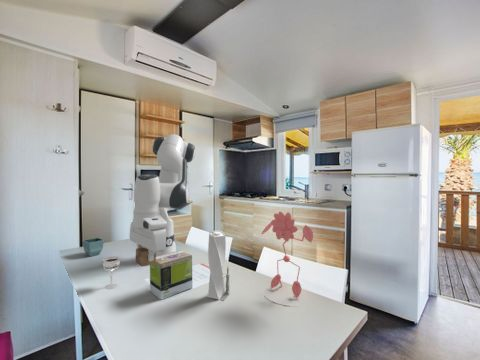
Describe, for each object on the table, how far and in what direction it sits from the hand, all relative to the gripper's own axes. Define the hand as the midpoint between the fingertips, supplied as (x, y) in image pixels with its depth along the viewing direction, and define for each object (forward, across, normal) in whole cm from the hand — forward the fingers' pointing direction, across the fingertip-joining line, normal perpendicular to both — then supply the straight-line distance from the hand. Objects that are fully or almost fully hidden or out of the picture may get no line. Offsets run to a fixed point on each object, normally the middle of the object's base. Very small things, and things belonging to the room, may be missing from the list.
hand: (145, 258), depth 87 cm
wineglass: (+20, -29, -1) cm, 35 cm away
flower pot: (+21, -80, +7) cm, 83 cm away
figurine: (+19, +29, +45) cm, 57 cm away
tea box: (+20, -7, +16) cm, 26 cm away
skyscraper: (+20, +11, +26) cm, 34 cm away
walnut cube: (+2, 0, 0) cm, 2 cm away
